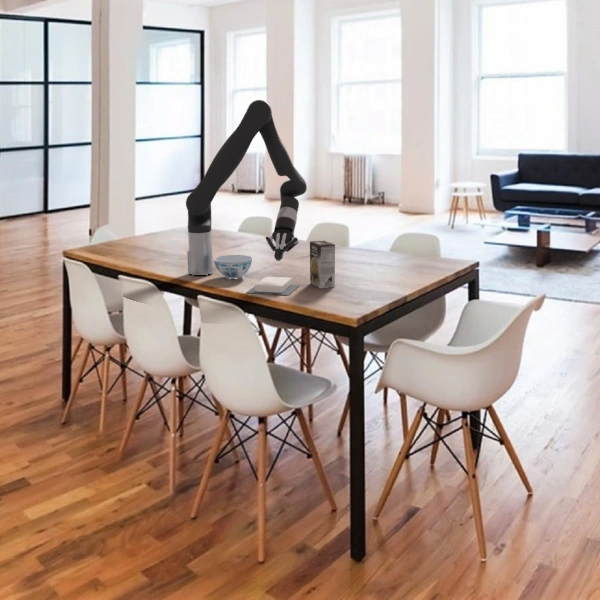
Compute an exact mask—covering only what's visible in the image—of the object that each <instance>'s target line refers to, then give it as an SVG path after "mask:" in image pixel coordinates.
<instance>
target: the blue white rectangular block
mask: <svg viewBox="0 0 600 600" xmlns="http://www.w3.org/2000/svg"><path fill="white" fill-rule="evenodd" d="M291 285H293V277H286V276H285V277H283V276H282V277H281V276H280V277H279V276H265V277H264V278H262V279H260V281H258V282H257V283H255V284H254V286H255V291H256V292H271V293H282V292H284V291H285V290H286V289H287V288H288V287H289V286H291Z"/></svg>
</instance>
